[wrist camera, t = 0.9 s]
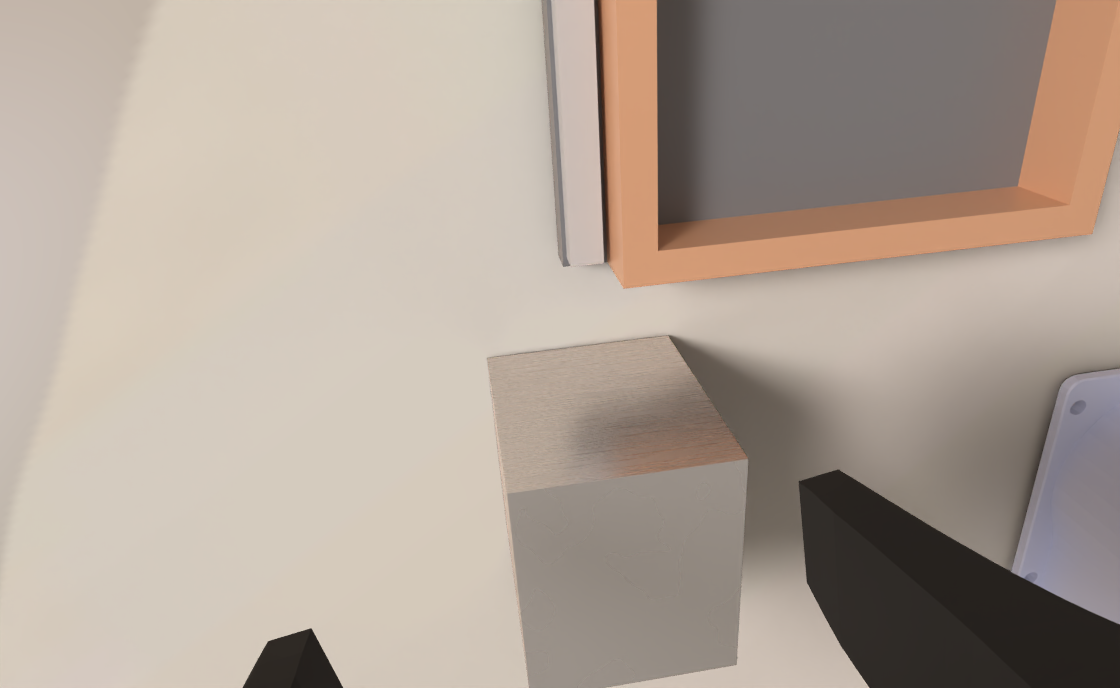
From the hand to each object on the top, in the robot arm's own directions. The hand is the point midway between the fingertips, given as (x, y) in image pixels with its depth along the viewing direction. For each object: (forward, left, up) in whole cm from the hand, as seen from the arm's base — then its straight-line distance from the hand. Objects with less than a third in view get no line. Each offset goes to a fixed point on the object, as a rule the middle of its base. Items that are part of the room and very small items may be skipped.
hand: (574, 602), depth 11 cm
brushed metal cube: (-4, -2, -10) cm, 11 cm away
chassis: (+6, -8, -10) cm, 15 cm away
